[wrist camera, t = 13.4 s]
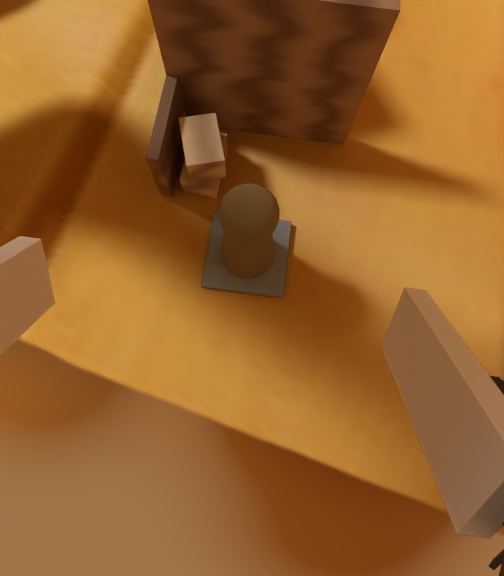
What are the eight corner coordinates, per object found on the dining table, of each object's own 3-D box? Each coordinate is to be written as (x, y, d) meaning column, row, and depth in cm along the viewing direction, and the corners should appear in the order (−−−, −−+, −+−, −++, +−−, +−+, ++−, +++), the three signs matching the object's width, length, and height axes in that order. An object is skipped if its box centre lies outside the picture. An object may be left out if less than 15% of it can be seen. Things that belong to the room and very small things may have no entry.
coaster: (201, 287, 37) (201, 285, 37) (214, 213, 40) (214, 211, 39) (282, 297, 37) (283, 296, 37) (290, 223, 40) (291, 221, 39)
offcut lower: (184, 194, 41) (179, 179, 38) (196, 145, 42) (193, 128, 39) (216, 199, 40) (214, 186, 38) (228, 150, 42) (227, 133, 39)
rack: (162, 195, 40) (112, 80, 25) (180, 115, 43) (145, -33, 28) (337, 218, 40) (398, 116, 24) (343, 135, 43) (400, -1, 27)
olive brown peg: (258, 288, 37) (264, 251, 26) (210, 262, 37) (197, 216, 27) (283, 243, 38) (299, 191, 28) (237, 219, 39) (235, 159, 28)
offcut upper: (190, 182, 38) (186, 165, 35) (183, 137, 39) (178, 117, 36) (226, 176, 38) (224, 160, 35) (217, 132, 39) (215, 112, 36)
